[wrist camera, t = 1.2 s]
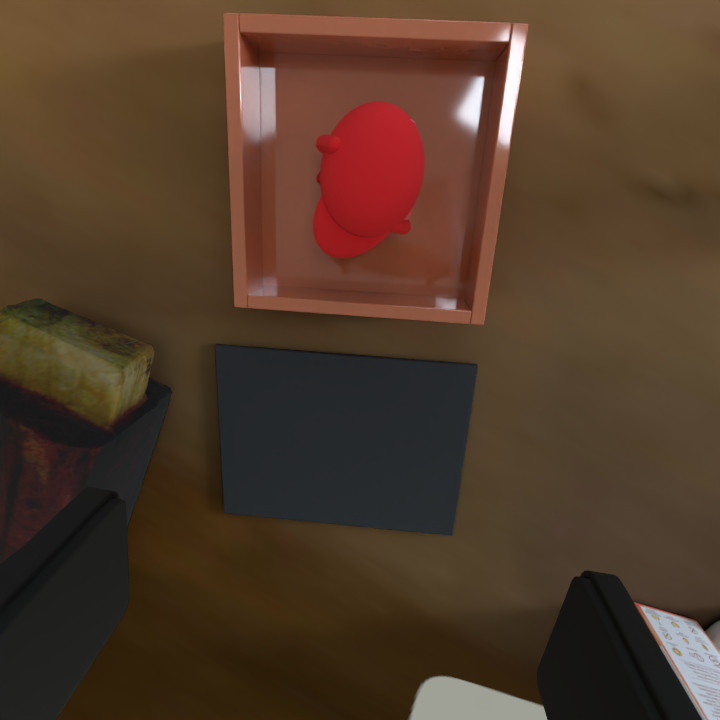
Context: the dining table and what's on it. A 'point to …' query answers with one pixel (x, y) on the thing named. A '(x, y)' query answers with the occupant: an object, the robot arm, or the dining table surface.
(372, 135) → the cap
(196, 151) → the dining table surface
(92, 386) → the packaged item
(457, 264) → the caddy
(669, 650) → the cracker box
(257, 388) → the mat
